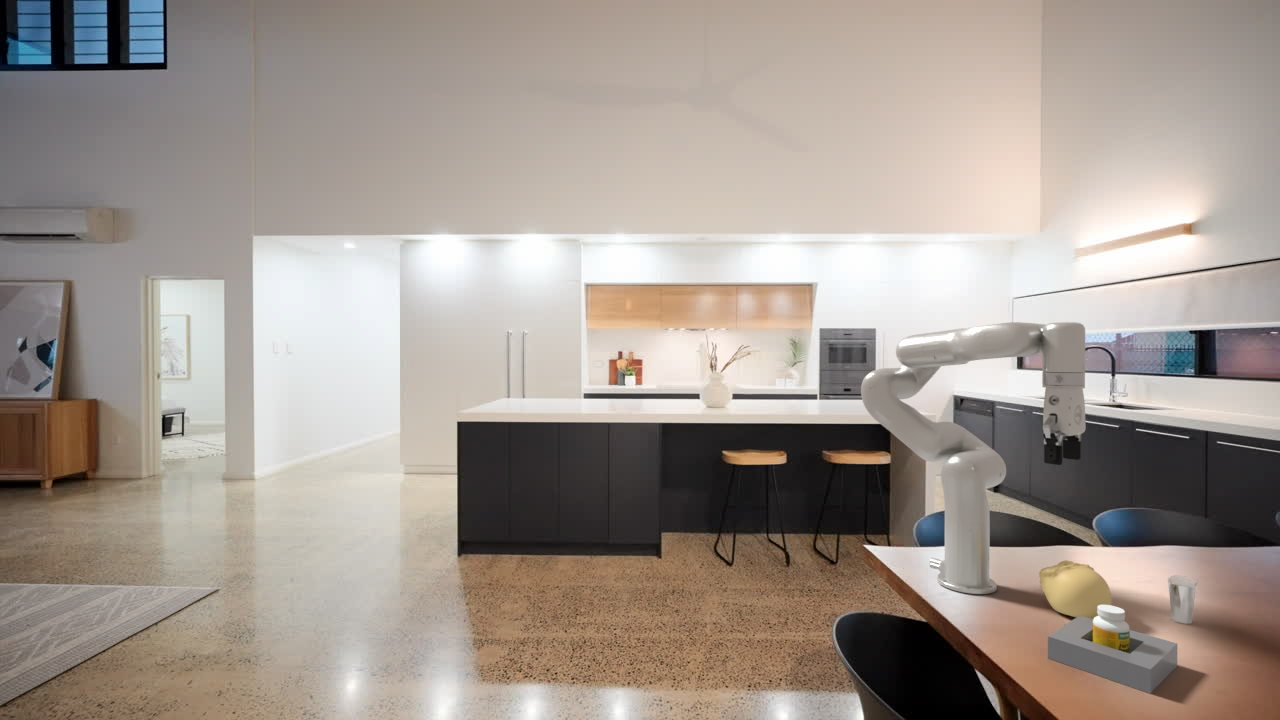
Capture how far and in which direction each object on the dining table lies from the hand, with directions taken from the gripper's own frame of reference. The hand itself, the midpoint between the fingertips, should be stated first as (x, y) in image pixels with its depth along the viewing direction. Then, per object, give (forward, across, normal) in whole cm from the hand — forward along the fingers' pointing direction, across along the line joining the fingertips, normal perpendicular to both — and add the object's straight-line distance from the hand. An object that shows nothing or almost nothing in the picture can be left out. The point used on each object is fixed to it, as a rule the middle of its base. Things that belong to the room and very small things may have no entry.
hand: (1062, 461), depth 135 cm
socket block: (+32, -17, -14) cm, 39 cm away
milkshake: (+32, +15, -17) cm, 40 cm away
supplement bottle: (+32, -17, -14) cm, 39 cm away
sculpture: (+33, +2, -2) cm, 33 cm away
